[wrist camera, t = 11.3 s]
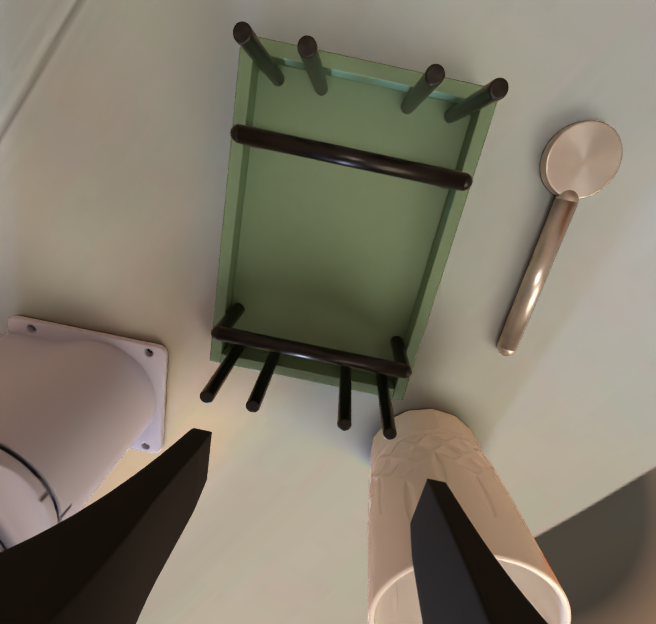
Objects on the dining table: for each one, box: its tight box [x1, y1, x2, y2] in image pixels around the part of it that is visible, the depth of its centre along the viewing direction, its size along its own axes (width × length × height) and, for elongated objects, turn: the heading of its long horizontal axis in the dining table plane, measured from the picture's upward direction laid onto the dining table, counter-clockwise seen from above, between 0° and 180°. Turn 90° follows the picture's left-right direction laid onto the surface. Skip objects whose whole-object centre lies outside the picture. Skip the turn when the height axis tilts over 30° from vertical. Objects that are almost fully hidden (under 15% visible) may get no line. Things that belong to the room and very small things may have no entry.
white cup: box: [368, 409, 571, 624], centre depth 20 cm, size 8×8×10 cm
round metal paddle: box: [497, 120, 622, 356], centre depth 19 cm, size 12×3×1 cm, turn 169°
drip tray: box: [210, 37, 497, 400], centre depth 19 cm, size 16×11×2 cm
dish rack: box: [200, 21, 508, 440], centre depth 17 cm, size 14×10×6 cm
